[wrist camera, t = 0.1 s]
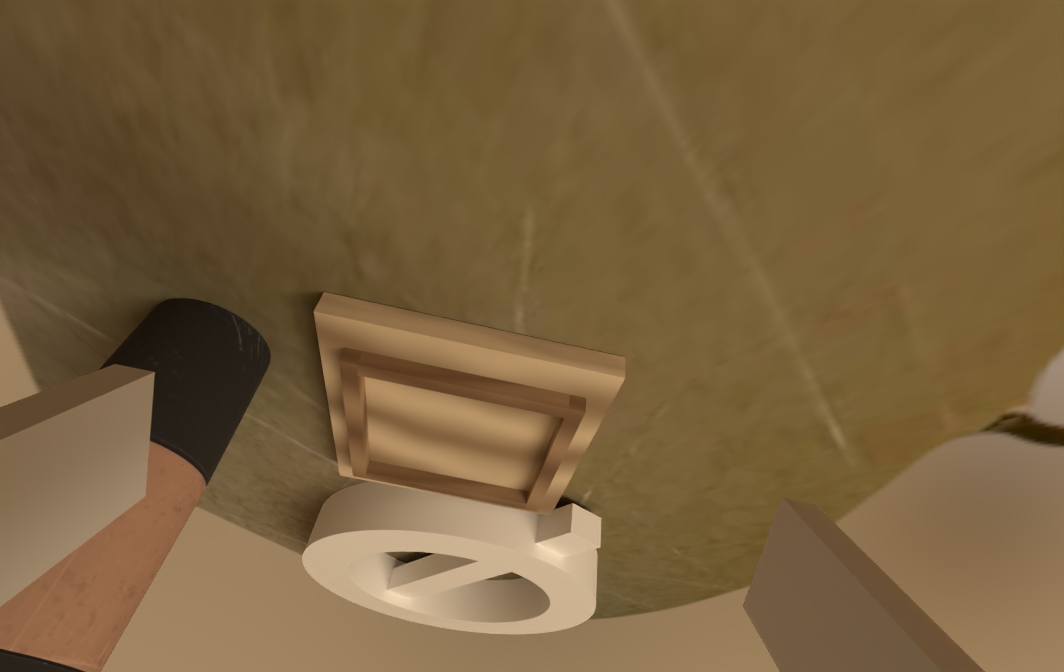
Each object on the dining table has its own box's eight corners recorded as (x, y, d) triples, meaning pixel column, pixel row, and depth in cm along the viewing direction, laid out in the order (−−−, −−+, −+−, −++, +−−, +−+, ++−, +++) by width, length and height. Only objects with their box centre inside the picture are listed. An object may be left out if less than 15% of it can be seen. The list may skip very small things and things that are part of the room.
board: (323, 291, 29) (305, 325, 28) (625, 357, 31) (625, 392, 29) (346, 458, 44) (335, 486, 42) (551, 498, 45) (549, 528, 43)
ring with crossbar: (365, 576, 67) (352, 618, 64) (276, 462, 46) (251, 515, 43) (592, 600, 64) (590, 645, 61) (605, 489, 43) (603, 549, 40)
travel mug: (217, 384, 38) (-7, 739, 24) (120, 309, 33) (-229, 704, 19) (301, 366, 35) (100, 755, 22) (208, 281, 30) (-127, 718, 17)
